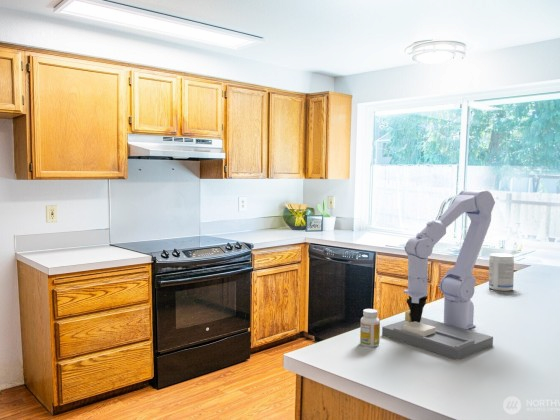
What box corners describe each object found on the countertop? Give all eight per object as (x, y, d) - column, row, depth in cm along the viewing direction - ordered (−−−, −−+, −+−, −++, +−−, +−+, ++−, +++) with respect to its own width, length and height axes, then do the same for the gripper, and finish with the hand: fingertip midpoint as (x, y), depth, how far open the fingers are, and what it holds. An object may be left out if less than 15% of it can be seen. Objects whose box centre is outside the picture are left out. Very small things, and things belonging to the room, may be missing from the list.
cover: (415, 326, 144) (415, 321, 144) (435, 332, 139) (435, 326, 139) (402, 330, 141) (402, 324, 140) (423, 336, 135) (423, 330, 135)
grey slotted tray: (418, 323, 156) (418, 313, 156) (492, 345, 137) (493, 333, 136) (382, 334, 145) (382, 323, 145) (457, 360, 125) (457, 346, 125)
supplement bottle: (376, 340, 140) (377, 307, 139) (381, 347, 134) (382, 313, 134) (358, 340, 140) (359, 307, 139) (362, 347, 134) (362, 313, 134)
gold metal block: (417, 321, 150) (417, 309, 150) (421, 323, 148) (421, 311, 148) (404, 322, 148) (405, 311, 148) (408, 324, 146) (409, 312, 146)
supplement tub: (516, 289, 206) (518, 255, 205) (508, 292, 199) (509, 257, 198) (493, 285, 213) (494, 252, 212) (484, 288, 206) (485, 254, 205)
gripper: (406, 271, 156) (405, 313, 156) (401, 280, 142) (400, 326, 143) (429, 273, 153) (428, 315, 154) (426, 282, 140) (425, 328, 140)
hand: (416, 320), depth 148 cm, fingers open, 4 cm apart
